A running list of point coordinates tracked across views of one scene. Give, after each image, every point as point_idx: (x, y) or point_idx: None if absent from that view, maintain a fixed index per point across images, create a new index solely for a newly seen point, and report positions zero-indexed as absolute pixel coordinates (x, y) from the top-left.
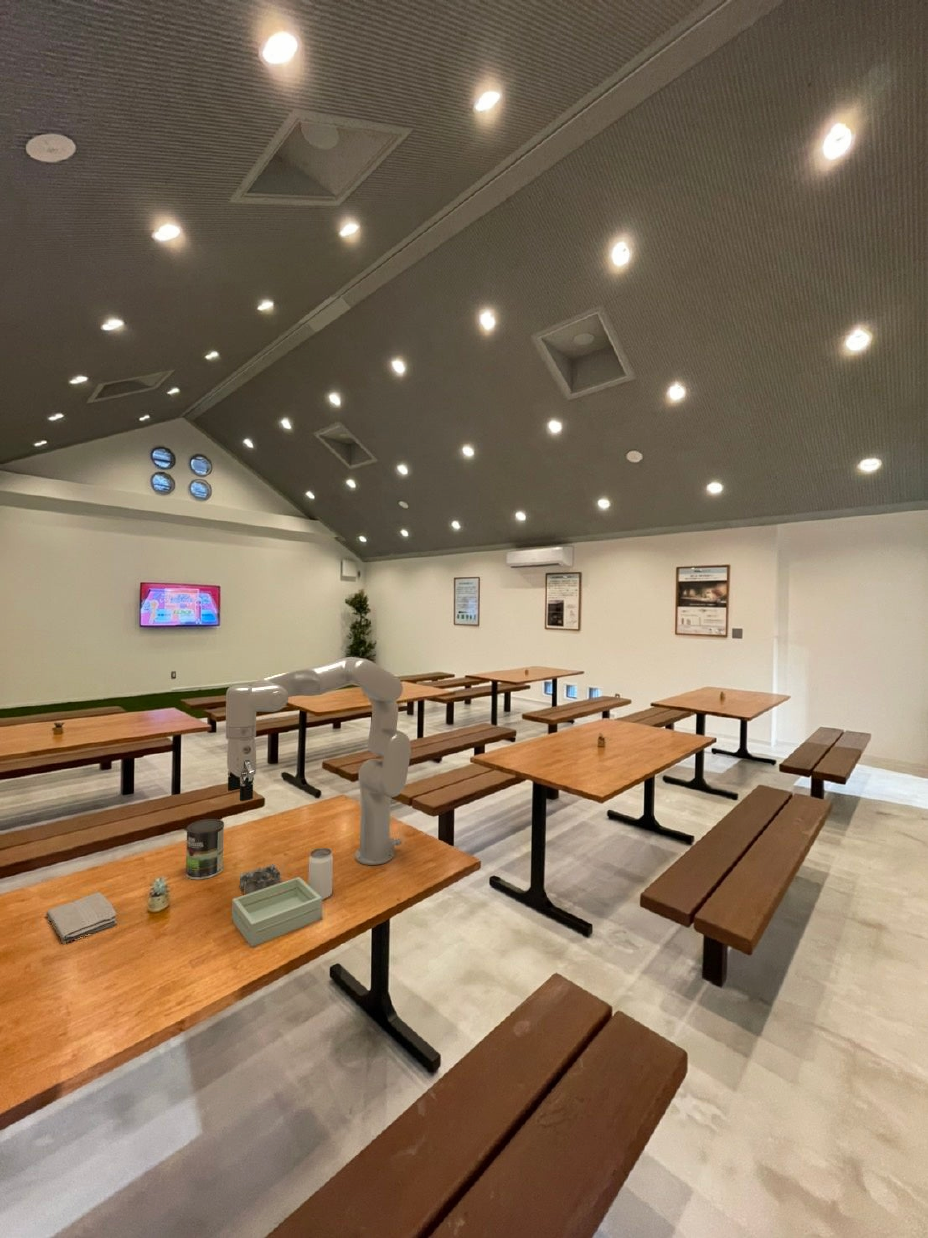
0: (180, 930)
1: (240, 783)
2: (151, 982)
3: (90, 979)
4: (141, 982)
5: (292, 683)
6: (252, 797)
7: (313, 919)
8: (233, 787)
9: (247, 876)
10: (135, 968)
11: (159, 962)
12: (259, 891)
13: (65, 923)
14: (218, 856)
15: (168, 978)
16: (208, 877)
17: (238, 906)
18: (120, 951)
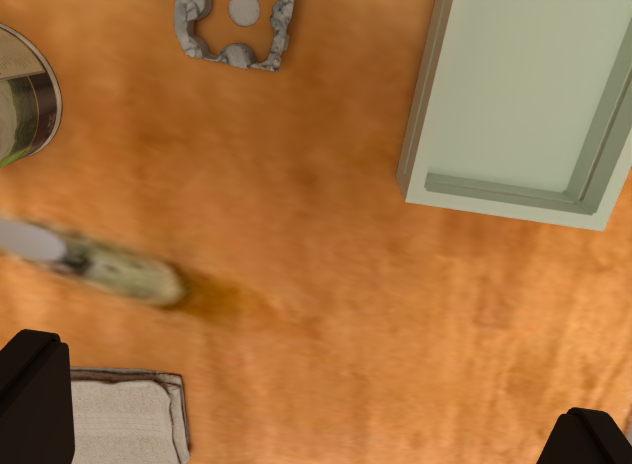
0: (327, 290)
1: (3, 384)
2: (474, 395)
3: (361, 455)
4: (456, 406)
5: None
6: (614, 426)
7: None
8: (50, 444)
9: (195, 18)
10: (398, 399)
11: (420, 365)
12: (439, 104)
13: (127, 460)
14: (4, 72)
15: (493, 372)
16: (61, 107)
17: (468, 210)
18: (306, 399)
